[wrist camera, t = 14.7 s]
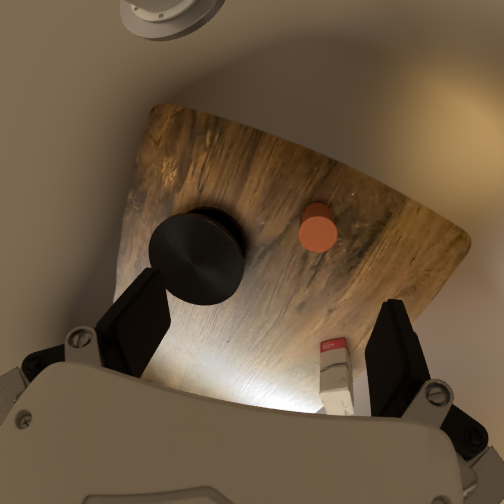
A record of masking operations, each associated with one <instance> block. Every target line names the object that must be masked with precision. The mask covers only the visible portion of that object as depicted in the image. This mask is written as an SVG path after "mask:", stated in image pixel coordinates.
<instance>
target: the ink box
mask: <svg viewBox="0 0 504 504" xmlns="http://www.w3.org/2000/svg"><path fill="white" fill-rule="evenodd" d="M320 345H321V346H320V392H319V394H320V396H321V399H322V402H323V405H324V407H325V410H326V413H327V415H343V416H345V415H352V414H354V398H353V378H352V365H351V361H350V357H349V353H348V349H347V344H346V340H345V338H340V339H334V340H330V341H326V342H323V343H321V344H320Z"/></svg>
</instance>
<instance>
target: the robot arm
mask: <svg viewBox="0 0 504 504" xmlns="http://www.w3.org/2000/svg"><path fill="white" fill-rule="evenodd" d="M123 1H126V2H128V3H130V4H131V8H132V10H133V13H134V14H135V15H136V16H137V17H139V18H140V19H142V20H145V21H148V22H162V21H167V20H170V19H173V18H175V17H177V16H179V15H181V14H182V13H184V12H185V11H187V10H188V9H189V8H190V7H192V6H193V5H194V4H195V2H196V1H197V0H123ZM170 324H171V318H170V312H169V306H168V300H167V294H166V287H165V281H164V275H163V273H161V272H160V270H159V269H154V268H145V269H144V270H143V271H142V273H141V274H140V275H139V276H138V277H137V278H136V279H135V280H134V281H133V282H132V284H131V285H130V286H129V287H128V288H127V289H126V290H125V291H124V292H123V294H122V295H121V296H120V297H119V298H118V299H117V300H116V302H115V303H114V304H113V305H112V306H111V307H110V308H109V310H108V311H107V312H106V313H105V314H104V316H103V317H102V318H101V319H100V320H99V321H98V323H97V326H96V327H95V328H94V329H93V328H91V327H89V326H80V327H77V328H74V329H73V330H71V331H70V332H69V333H68V334H67V336H66V338H65V344H62V345H59V346H55V347H52V348H48V349H45V350H41V351H38V352H34V353H31V354H30V355H28V356H27V357H26V358H25V359H24V360H23V363H22V367H21V368H20V369H19V368H18V367H16V368H14V369H12V370H11V371H9V372H7V373H6V374H3V375H2V376H0V504H500V503H501V502H502V500H503V499H504V461H503V460H502V458H501V457H500V456H499V454H498V453H497V451H496V450H495V449H494V447H493V446H491V447H490V448H489V446H488V445H487V444H488V433H487V431H486V429H485V428H484V427H483V426H482V425H481V424H480V423H478V422H477V421H476V420H474V419H473V418H472V417H470V416H469V415H467V414H466V413H465V412H463V411H462V410H460V409H459V408H458V407H456V406H455V405H453V404H452V403H453V400H454V394H453V391H452V389H451V388H450V386H449V385H448V384H447V383H445V382H444V381H442V380H439V379H431V378H430V374H429V371H428V368H427V364H426V361H425V358H424V355H423V351H422V348H421V345H420V342H419V339H418V336H417V334H416V333H415V332H414V331H413V329H412V326H411V323H410V320H409V317H408V314H407V312H406V309H405V306H404V304H403V301H402V300H397V299H388V301H387V302H384V303H383V304H382V307H381V310H380V313H379V315H378V318H377V321H376V323H375V326H374V328H373V331H372V334H371V336H370V339H369V341H368V343H367V346H366V349H365V360H366V368H367V376H368V384H369V394H370V405H371V417H365V416H343V415H326V414H314V413H303V412H294V411H285V410H278V409H270V408H264V407H257V406H251V405H245V404H240V403H234V402H229V401H224V400H219V399H214V398H210V397H205V396H201V395H197V394H193V393H189V392H185V391H181V390H177V389H173V388H170V387H166V386H163V385H159V384H156V383H152V382H149V381H146V380H142V379H140V377H141V375H142V373H143V372H144V370H145V368H146V367H147V365H148V363H149V361H150V360H151V358H152V356H153V354H154V353H155V351H156V349H157V348H158V346H159V344H160V343H161V341H162V339H163V337H164V336H165V334H166V332H167V331H168V329H169V327H170Z"/></svg>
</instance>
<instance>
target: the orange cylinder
mask: <svg viewBox="0 0 504 504" xmlns="http://www.w3.org/2000/svg"><path fill="white" fill-rule="evenodd" d="M299 240H300V242H301V244H302V245H303V246H304V247H305V248H306V249H308V250H309V251H312V252H324V251H327V250H329V249H330V248H331V247H332V246H333V245H334V244H335V242H336V240H337V228H336V223H335V218H334V214H333V211H332V210H331V209H330V207H328V206H327V205H325V204H323V203H318V202H317V203H312V204H309V205H308V206H306V207H305V208H304V210H303V211H302V213H301V219H300V226H299Z"/></svg>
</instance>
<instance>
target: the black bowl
mask: <svg viewBox="0 0 504 504" xmlns="http://www.w3.org/2000/svg"><path fill="white" fill-rule="evenodd" d="M245 254H246V239H245V235H244V233H243V231H242V228H241V227H240V225H239V224H238V223H237V221H236V220H235V219H234V218H233V217H232V216H230V215H229V214H228V213H226V212H224V211H222V210H220V209H217V208H214V207H205V206H203V207H197V208H194V209H191V210H189V211H188V212H186V213H181V214H177V215H174V216H172V217H169V218H168V219H166V220H165V221H163V222H162V223H161V224H160V225H159V226H158V227H157V228H156V229H155V231H154V232H153V234H152V236H151V239H150V243H149V260H150V264H151V267H152V268H154V269H159V270H160V272H161V273H163V275H164V281H165V287H166V289H167V290H168V291H169V292H170V293H171V294H173V295H174V296H176V297H177V298H179V299H181V300H183V301H185V302H188V303H191V304H195V305H214V304H218V303H221V302H223V301H225V300H227V299H228V298H229V297H231V296H232V295H233V294H234V293H235V292H236V290H237V288H238V287H239V285H240V282H241V280H242V277H243V273H244V257H245Z"/></svg>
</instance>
